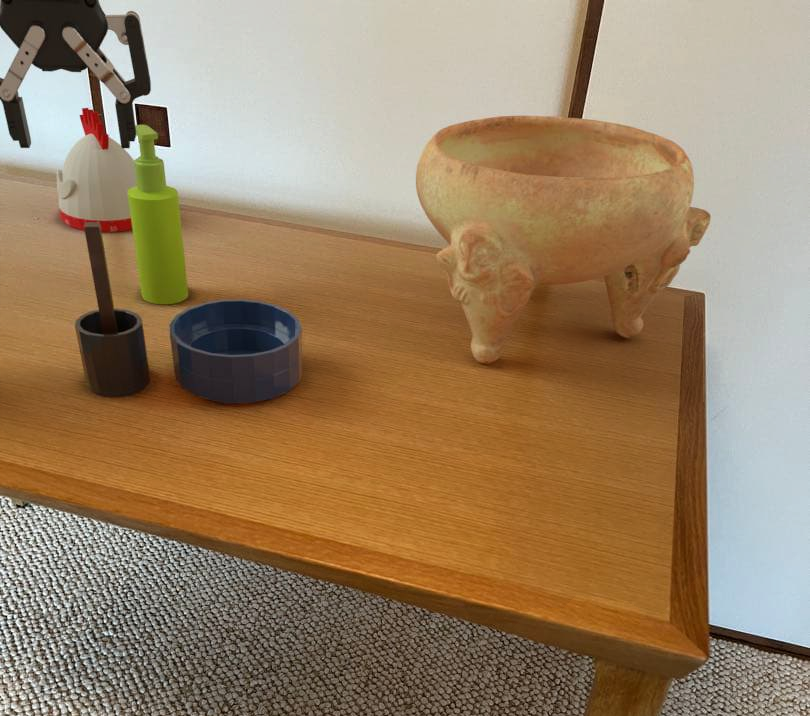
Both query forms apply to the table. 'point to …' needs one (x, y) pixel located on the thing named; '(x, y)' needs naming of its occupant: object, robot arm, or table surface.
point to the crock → (113, 354)
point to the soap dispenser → (156, 227)
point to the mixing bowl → (236, 350)
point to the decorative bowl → (556, 215)
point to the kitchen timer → (96, 180)
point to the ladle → (101, 277)
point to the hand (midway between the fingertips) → (76, 146)
